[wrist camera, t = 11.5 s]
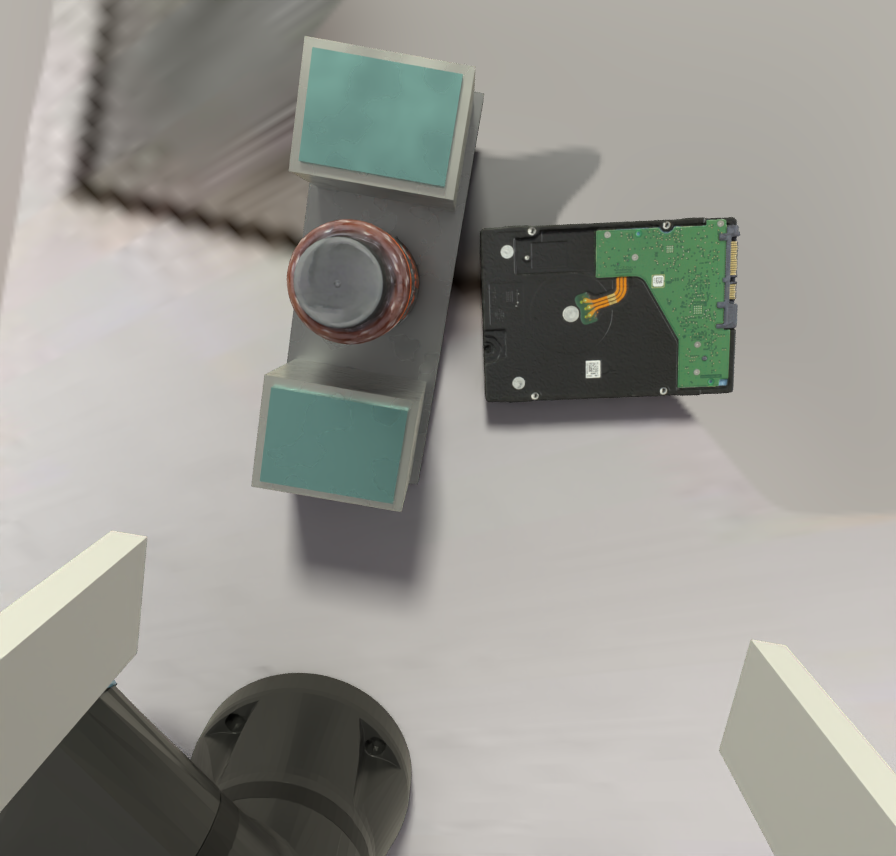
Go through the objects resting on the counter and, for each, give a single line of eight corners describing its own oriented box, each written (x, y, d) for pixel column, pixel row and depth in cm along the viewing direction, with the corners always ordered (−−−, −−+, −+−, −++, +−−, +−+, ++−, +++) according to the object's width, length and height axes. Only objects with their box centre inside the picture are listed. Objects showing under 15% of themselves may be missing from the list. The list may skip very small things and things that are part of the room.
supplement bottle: (429, 322, 43) (417, 340, 32) (332, 340, 43) (286, 364, 32) (410, 220, 42) (391, 202, 31) (310, 239, 42) (255, 228, 31)
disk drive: (485, 398, 46) (721, 386, 46) (485, 406, 44) (737, 394, 43) (477, 230, 44) (725, 215, 43) (477, 227, 41) (742, 211, 41)
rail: (419, 477, 47) (408, 525, 38) (280, 454, 47) (238, 495, 38) (483, 99, 42) (488, 54, 33) (329, 71, 42) (293, 19, 33)
